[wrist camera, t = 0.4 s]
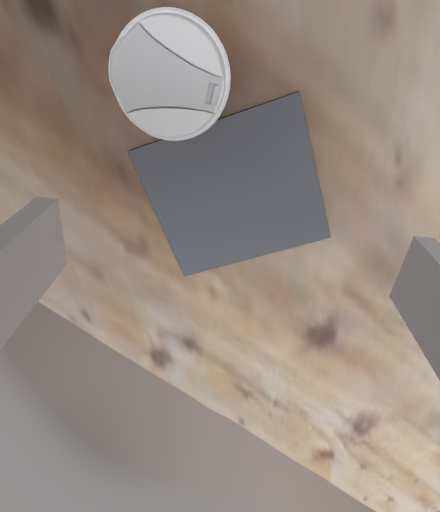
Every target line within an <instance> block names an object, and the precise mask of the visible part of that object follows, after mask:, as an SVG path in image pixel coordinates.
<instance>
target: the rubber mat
mask: <svg viewBox="0 0 440 512" xmlns="http://www.w3.org/2000/svg"><path fill="white" fill-rule="evenodd" d="M128 153H129V156H130V158H131V160H132V162H133V164H134V167H135V169H136V171H137V173H138V175H139V178H140V180H141V182H142V184H143V187H144V189H145V191H146V193H147V195H148V198H149V200H150V202H151V204H152V206H153V209H154V211H155V213H156V215H157V217H158V220H159V222H160V224H161V226H162V229H163V231H164V233H165V235H166V237H167V240H168V242H169V244H170V246H171V248H172V251H173V253H174V255H175V257H176V259H177V262H178V264H179V266H180V268H181V271H182V273H183V275H184V276H187V275H191V274H195V273H199V272H202V271H206V270H210V269H214V268H217V267H221V266H225V265H229V264H232V263H236V262H240V261H243V260H247V259H251V258H255V257H258V256H262V255H266V254H270V253H273V252H277V251H281V250H285V249H288V248H292V247H296V246H300V245H303V244H307V243H311V242H315V241H318V240H322V239H326V238H330V237H331V236H330V232H329V227H328V222H327V218H326V213H325V208H324V204H323V199H322V195H321V190H320V185H319V181H318V176H317V171H316V167H315V162H314V158H313V153H312V148H311V144H310V139H309V134H308V130H307V125H306V121H305V116H304V111H303V107H302V102H301V97H300V93H299V91H298V92H295V93H292V94H289V95H286V96H284V97H281V98H278V99H275V100H272V101H269V102H266V103H264V104H261V105H258V106H255V107H252V108H249V109H247V110H244V111H241V112H238V113H235V114H232V115H229V116H227V117H224V118H221V119H218V120H216V122H215V123H214V124H213V125H212V126H211V127H210V128H209V129H207V130H206V131H205V132H203V133H202V134H200V135H198V136H196V137H194V138H190V139H187V140H180V141H168V140H163V139H161V140H158V141H155V142H152V143H150V144H147V145H144V146H141V147H138V148H135V149H132V150H130V151H128Z"/></svg>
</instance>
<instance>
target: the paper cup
mask: <svg viewBox="0 0 440 512" xmlns="http://www.w3.org/2000/svg"><path fill="white" fill-rule="evenodd" d="M108 72H109V82H110V84H111V86H112V89H113V91H114V93H115V96H116V98H117V101H118V103H119V105H120V107H121V108H122V110H123V112H124V113H125V114H126V116H127V117H128V118H129V119H130V120H131V121H132V122H133V123H134V125H135V126H137V127H138V128H139V129H141V130H142V131H144V132H145V133H147V134H149V135H151V136H153V137H156V138H159V139H163V140H168V141H180V140H187V139H190V138H194V137H196V136H198V135H200V134H202V133H203V132H205V131H206V130H207V129H209V128H210V127H211V126H212V125H213V124H214V123H215V122H216V120H217V119H218V118H219V116H220V115H221V113H222V111H223V109H224V107H225V105H226V102H227V99H228V96H229V91H230V80H231V75H230V65H229V61H228V57H227V54H226V51H225V49H224V47H223V44H222V43H221V41H220V39H219V38H218V36H217V34H216V33H215V32H214V31H213V30H212V28H211V27H210V26H209V25H208V24H207V23H206V22H204V21H203V20H202V19H201V18H199V17H198V16H196V15H194V14H193V13H190V12H188V11H186V10H183V9H179V8H174V7H160V8H154V9H151V10H148V11H145V12H143V13H141V14H140V15H138V16H136V17H135V18H134V19H133V20H131V21H130V22H129V23H128V24H127V25H126V27H125V28H124V29H123V30H122V32H121V33H120V35H119V37H118V39H117V41H116V42H115V44H114V46H113V47H112V49H111V51H110V56H109V68H108Z"/></svg>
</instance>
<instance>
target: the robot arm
mask: <svg viewBox="0 0 440 512" xmlns="http://www.w3.org/2000/svg"><path fill="white" fill-rule="evenodd" d="M66 264H67V260H66V253H65V245H64V238H63V231H62V224H61V217H60V209H59V202H58V199H52V198H43V197H36V198H35V199H34V200H32V201H31V202H30V203H29V204H27V205H26V206H25V207H24V208H22V209H21V210H20V211H18V212H17V213H16V214H15V215H13V216H12V217H11V218H9V219H8V220H7V221H6V222H4V223H3V224H2V225H1V226H0V350H1V349H2V348H3V346H4V345H5V344H6V342H7V341H8V340H9V338H10V337H11V336H12V334H13V333H14V332H15V331H16V329H17V328H18V326H19V325H20V324H21V323H22V321H23V320H24V319H25V317H26V316H27V315H28V313H29V312H30V311H31V310H32V308H33V307H34V306H35V304H36V303H37V302H38V300H39V299H40V298H41V296H42V295H43V294H44V293H45V291H46V290H47V289H48V287H49V286H50V285H51V283H52V282H53V281H54V279H55V278H56V277H57V276H58V274H59V273H60V272H61V270H62V269H63V268H64V266H65V265H66ZM390 298H391V299H392V301H393V303H394V304H395V306H396V308H397V309H398V311H399V313H400V314H401V316H402V318H403V320H404V321H405V323H406V325H407V326H408V328H409V330H410V331H411V333H412V335H413V336H414V338H415V340H416V341H417V343H418V345H419V346H420V348H421V350H422V352H423V353H424V355H425V357H426V358H427V360H428V362H429V363H430V365H431V367H432V368H433V370H434V372H435V373H436V375H437V377H438V378H439V380H440V243H439V242H438V241H437V240H436V239H435V238H428V237H418V236H414V237H413V240H412V242H411V245H410V247H409V250H408V252H407V254H406V257H405V259H404V262H403V264H402V267H401V269H400V272H399V274H398V276H397V279H396V281H395V284H394V286H393V289H392V291H391V293H390Z"/></svg>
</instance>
